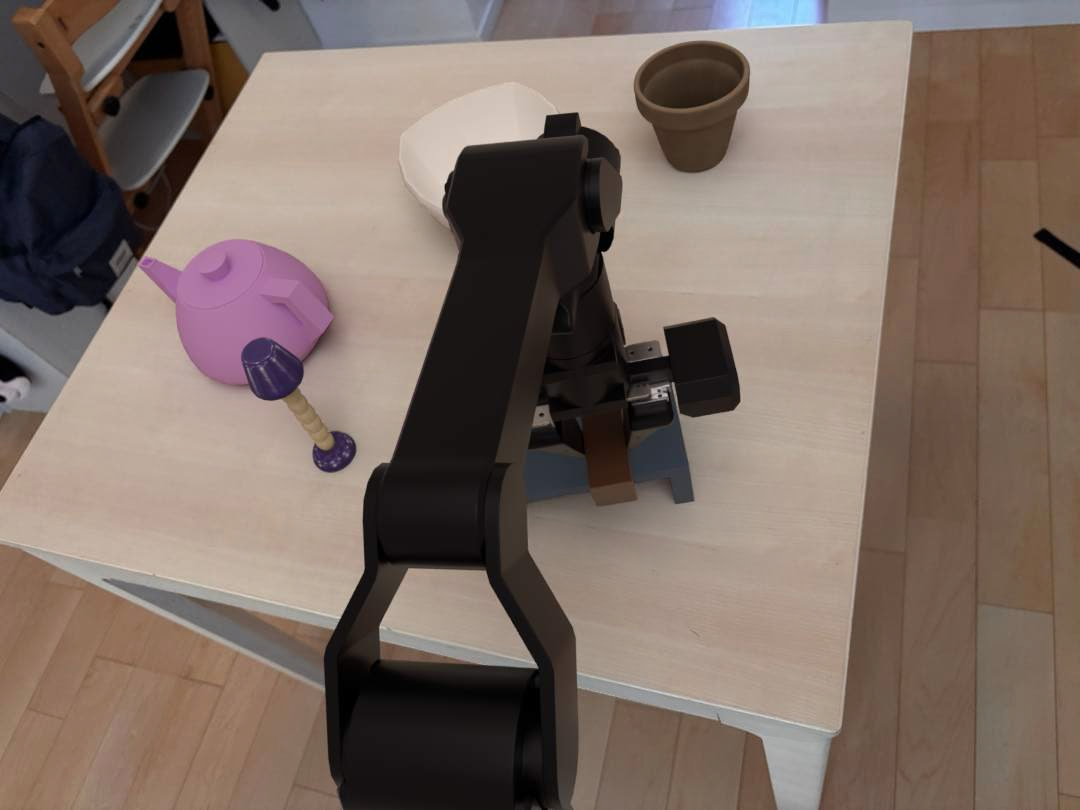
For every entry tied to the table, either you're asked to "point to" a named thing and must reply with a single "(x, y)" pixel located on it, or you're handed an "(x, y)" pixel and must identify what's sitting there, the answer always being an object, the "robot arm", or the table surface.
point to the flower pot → (693, 100)
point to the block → (608, 459)
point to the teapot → (241, 304)
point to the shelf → (649, 460)
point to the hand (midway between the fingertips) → (608, 449)
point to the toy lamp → (294, 399)
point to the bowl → (466, 136)
